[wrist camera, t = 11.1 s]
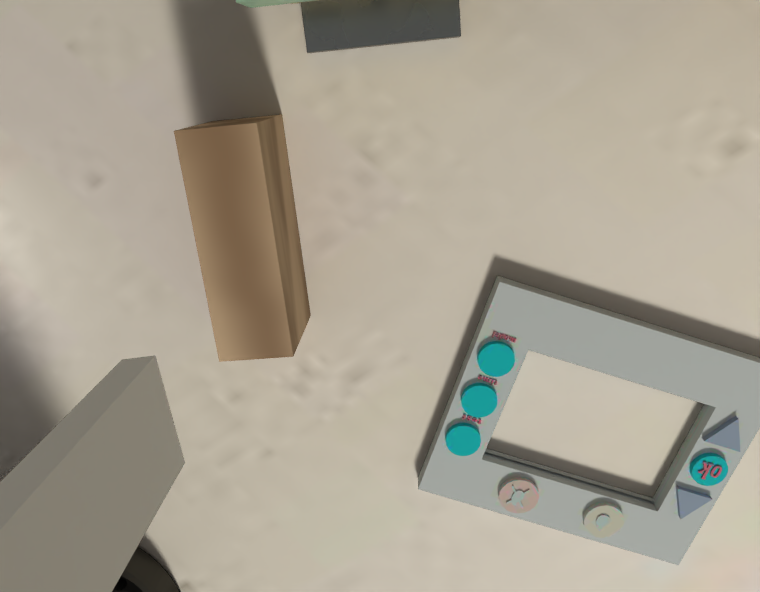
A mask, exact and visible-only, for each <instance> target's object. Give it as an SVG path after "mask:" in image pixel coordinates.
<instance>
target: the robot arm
mask: <svg viewBox="0 0 760 592" xmlns="http://www.w3.org/2000/svg"><path fill="white" fill-rule="evenodd" d="M184 463H185V461H184V458H183V454H182V451H181V447H180V443H179V440H178V436H177V432H176V429H175V425H174V422H173V418H172V414H171V411H170V407H169V403H168V400H167V396H166V393H165V389H164V385H163V382H162V378H161V374H160V371H159V367H158V364H157V360H156V356H148V357H140V358H132V359H124V360H121V361H120V362H119V363H118V364H117V365H116V366H115V367H114V368H113V369H112V370H111V371H110V372H109V373H108V374H107V375H106V376H105V377H104V378H103V379H102V380H101V381H100V382H99V383H98V384H97V385H96V386H95V387H94V388H93V389H92V390H91V391H90V392H89V393H88V394H87V395H86V396H85V397H84V398H83V399H82V400H81V401H80V402H79V403H78V404H77V405H76V406H75V407H74V408H73V409H72V410H71V412H70V413H69V414H68V415H67V416H66V417H65V418H64V419H63V420H62V421H61V422H60V423H59V424H58V425H57V426H56V427H55V428H54V429H53V430H52V431H51V432H50V433H49V434H48V435H47V436H46V437H45V438H44V439H43V440H42V441H41V442H40V443H39V444H38V445H37V446H36V447H35V448H34V449H33V450H32V451H31V452H30V453H29V454H28V455H27V456H26V457H25V458H24V459H23V460H22V461H21V462H20V463H19V464H18V465H17V466H16V467H15V468H14V469H13V470H12V471H11V472H10V473H9V474H8V475H7V476H6V477H5V478H4V479H3V480H2V481H1V482H0V592H179V591H178V589H177V587H176V585H175V583H174V582H173V580H172V579H171V577H170V576H169V575H168V573H167V572H166V571H165V570H164V569H163V568H162V567H161V565H160V564H158V563H157V562H156V561H155V560H154V559H153V558H152V557H151V556H149V555H148V554H147V553H146V552H144V551H143V550H141V549H140V548H138V545H139V543H140V541H141V539H142V538H143V536H144V534H145V532H146V531H147V529H148V527H149V525H150V524H151V522H152V520H153V518H154V516H155V515H156V513H157V511H158V509H159V508H160V506H161V504H162V502H163V500H164V499H165V497H166V495H167V493H168V492H169V490H170V488H171V486H172V485H173V483H174V481H175V479H176V477H177V476H178V474H179V472H180V470H181V469H182V467H183V465H184Z"/></svg>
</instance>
